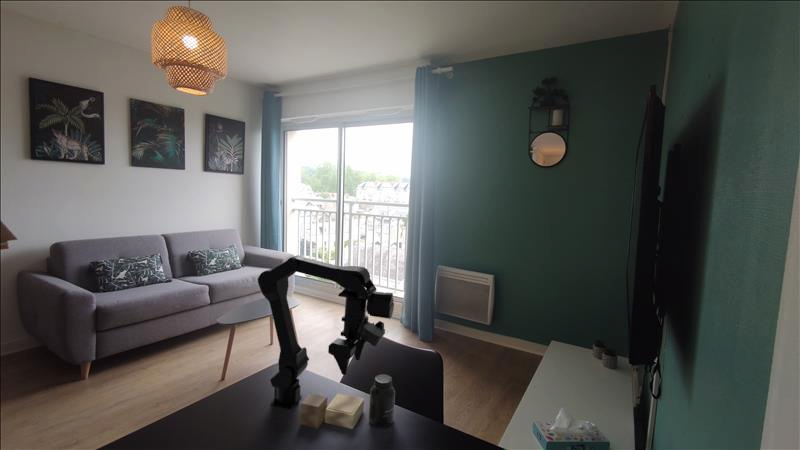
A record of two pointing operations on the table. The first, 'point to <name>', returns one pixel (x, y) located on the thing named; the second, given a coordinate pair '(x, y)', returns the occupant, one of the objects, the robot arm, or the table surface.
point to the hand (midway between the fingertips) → (351, 367)
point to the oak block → (344, 411)
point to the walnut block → (313, 410)
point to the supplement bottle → (382, 401)
